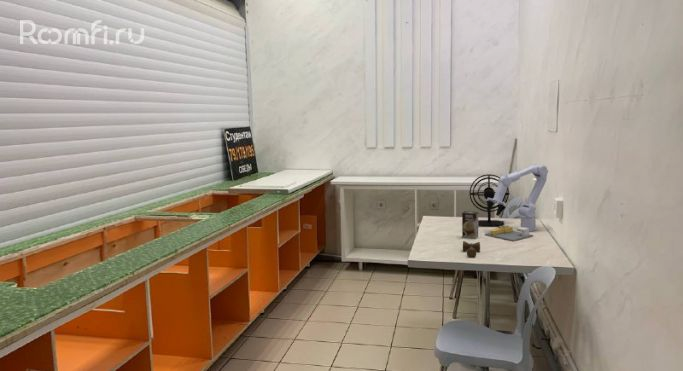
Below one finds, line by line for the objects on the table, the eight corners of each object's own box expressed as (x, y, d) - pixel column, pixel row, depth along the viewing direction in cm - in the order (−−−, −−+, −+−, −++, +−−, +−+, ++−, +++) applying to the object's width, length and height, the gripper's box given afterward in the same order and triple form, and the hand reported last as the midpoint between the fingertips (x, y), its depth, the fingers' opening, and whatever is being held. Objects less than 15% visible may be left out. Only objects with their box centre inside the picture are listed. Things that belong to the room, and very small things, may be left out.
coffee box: (461, 237, 318) (461, 212, 316) (464, 235, 324) (464, 210, 321) (476, 238, 314) (476, 213, 312) (478, 236, 319) (478, 211, 317)
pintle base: (504, 230, 332) (504, 222, 331) (533, 236, 314) (533, 228, 313) (484, 235, 322) (484, 227, 321) (513, 241, 303) (513, 232, 303)
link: (504, 229, 329) (504, 225, 329) (512, 231, 324) (512, 226, 323) (488, 233, 320) (488, 229, 320) (496, 235, 315) (496, 230, 315)
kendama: (462, 258, 275) (462, 248, 294) (480, 259, 272) (479, 248, 292) (462, 247, 274) (462, 238, 293) (480, 248, 271) (479, 238, 291)
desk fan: (508, 222, 358) (509, 173, 353) (510, 227, 341) (510, 176, 336) (469, 221, 365) (469, 173, 360) (469, 226, 348) (469, 176, 343)
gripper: (487, 189, 326) (480, 209, 327) (505, 195, 315) (497, 215, 315) (493, 192, 331) (486, 211, 331) (511, 197, 319) (504, 218, 319)
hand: (492, 213), depth 323 cm, fingers open, 7 cm apart
